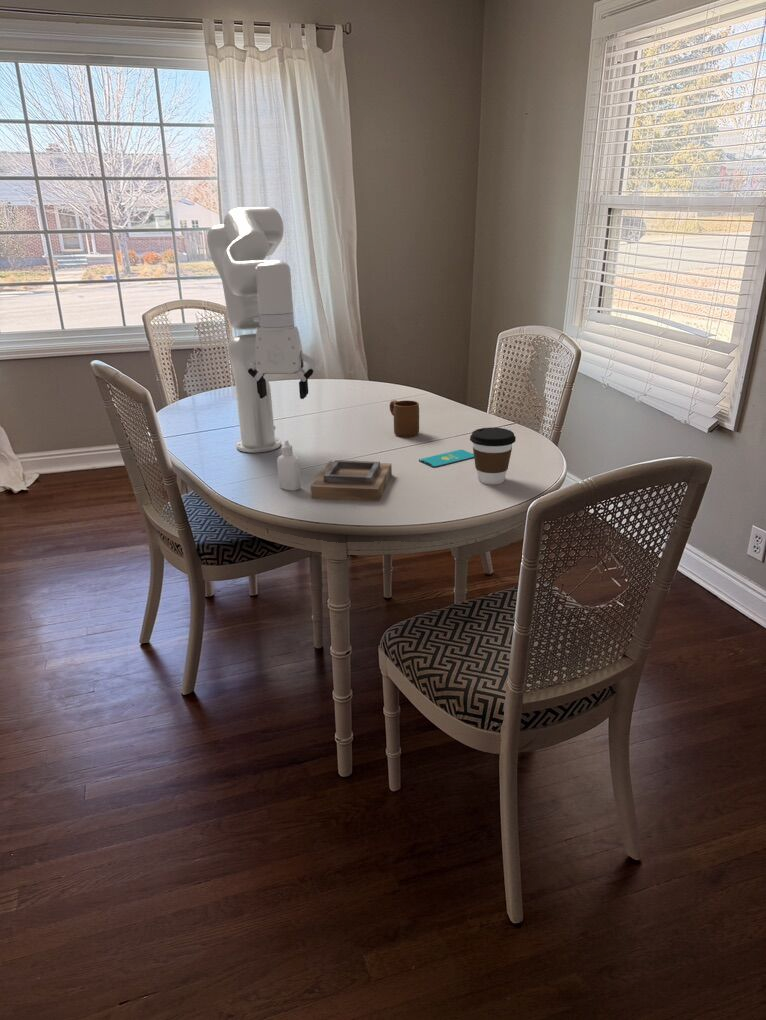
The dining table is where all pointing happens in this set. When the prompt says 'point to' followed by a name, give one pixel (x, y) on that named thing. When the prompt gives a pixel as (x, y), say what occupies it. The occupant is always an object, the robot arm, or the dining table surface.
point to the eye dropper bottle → (288, 469)
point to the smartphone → (447, 458)
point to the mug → (405, 418)
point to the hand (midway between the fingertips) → (283, 397)
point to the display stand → (352, 480)
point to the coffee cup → (492, 453)
